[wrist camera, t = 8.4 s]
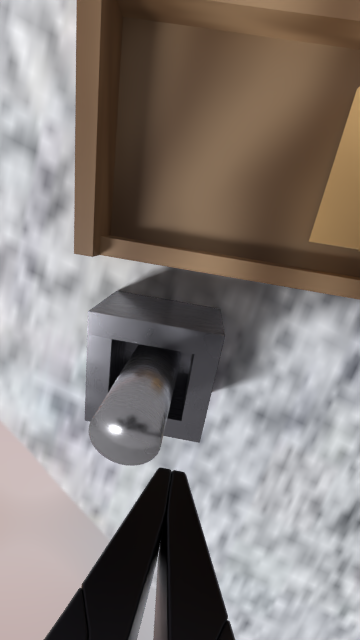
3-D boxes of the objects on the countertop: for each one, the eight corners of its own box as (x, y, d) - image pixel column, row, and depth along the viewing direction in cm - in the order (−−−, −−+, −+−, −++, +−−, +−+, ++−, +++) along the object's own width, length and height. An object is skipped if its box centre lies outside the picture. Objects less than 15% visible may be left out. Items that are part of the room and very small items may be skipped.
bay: (584, 57, 12) (706, 3, 9) (447, 309, 16) (500, 326, 13) (106, -8, 12) (77, -78, 9) (96, 249, 16) (74, 253, 14)
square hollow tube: (220, 309, 17) (224, 335, 13) (200, 396, 19) (199, 442, 15) (116, 290, 17) (88, 311, 13) (110, 379, 20) (84, 420, 16)
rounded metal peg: (183, 338, 16) (164, 414, 10) (177, 379, 17) (157, 471, 11) (137, 331, 16) (88, 400, 10) (134, 371, 18) (88, 457, 11)
